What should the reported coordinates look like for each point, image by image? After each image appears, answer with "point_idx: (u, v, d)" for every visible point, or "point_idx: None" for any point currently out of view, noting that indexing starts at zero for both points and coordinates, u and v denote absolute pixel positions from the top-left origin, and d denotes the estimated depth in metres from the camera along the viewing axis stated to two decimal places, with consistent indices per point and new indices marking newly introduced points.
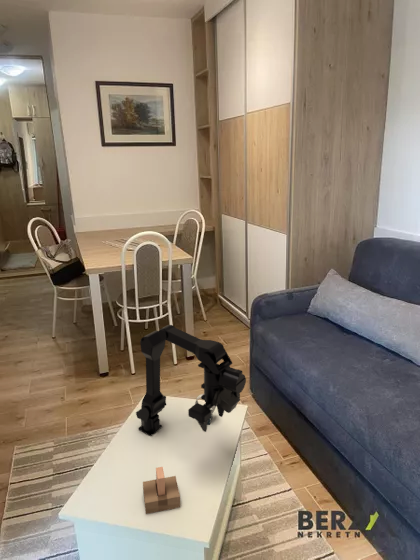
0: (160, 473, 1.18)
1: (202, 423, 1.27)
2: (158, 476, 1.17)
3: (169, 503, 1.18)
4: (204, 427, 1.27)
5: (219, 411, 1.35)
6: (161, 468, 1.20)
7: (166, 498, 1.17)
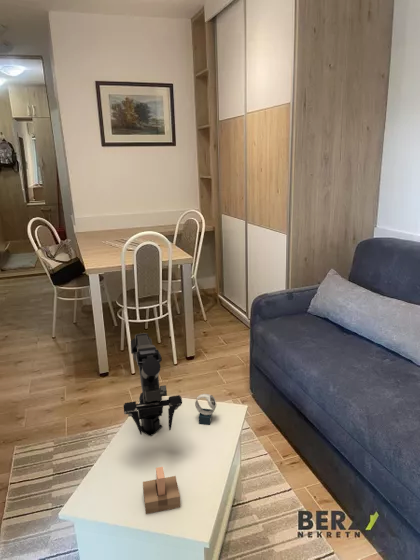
0: (160, 473, 1.18)
1: (136, 423, 1.30)
2: (158, 476, 1.17)
3: (169, 503, 1.18)
4: (137, 427, 1.29)
5: None
6: (161, 468, 1.20)
7: (166, 498, 1.17)
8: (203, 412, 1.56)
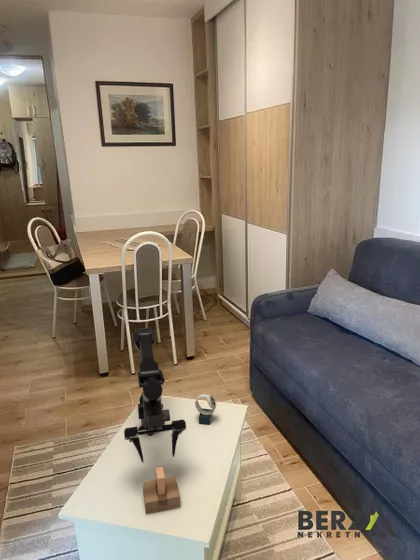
0: (160, 473, 1.18)
1: (137, 449, 1.22)
2: (158, 476, 1.17)
3: (169, 503, 1.18)
4: (139, 454, 1.21)
5: (172, 450, 1.24)
6: (161, 468, 1.20)
7: (166, 498, 1.17)
8: (203, 412, 1.56)
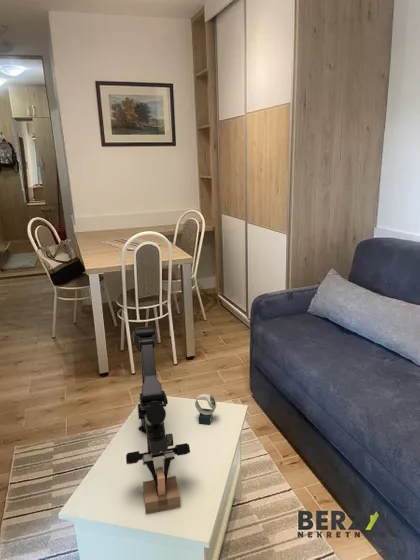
0: (160, 474, 1.18)
1: (151, 473, 1.19)
2: (158, 476, 1.17)
3: (169, 503, 1.18)
4: (153, 478, 1.18)
5: None
6: (161, 468, 1.20)
7: (166, 498, 1.17)
8: (203, 412, 1.56)
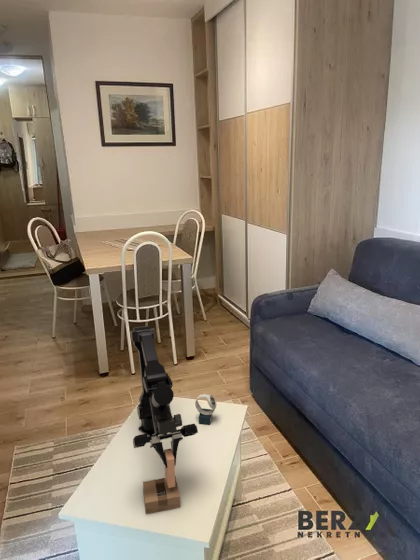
0: (169, 455, 1.17)
1: (160, 455, 1.18)
2: (167, 457, 1.16)
3: (169, 503, 1.18)
4: (162, 460, 1.17)
5: None
6: (169, 450, 1.19)
7: (166, 498, 1.17)
8: (203, 412, 1.56)
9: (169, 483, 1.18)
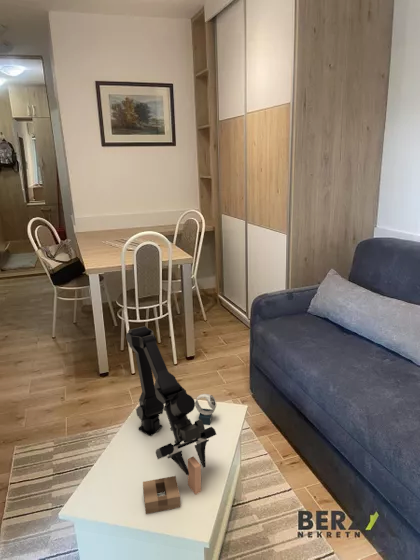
0: (195, 462, 1.22)
1: (180, 463, 1.21)
2: (194, 465, 1.21)
3: (169, 503, 1.18)
4: (183, 468, 1.21)
5: (201, 461, 1.25)
6: (193, 458, 1.24)
7: (166, 498, 1.17)
8: (203, 412, 1.56)
9: (196, 489, 1.23)
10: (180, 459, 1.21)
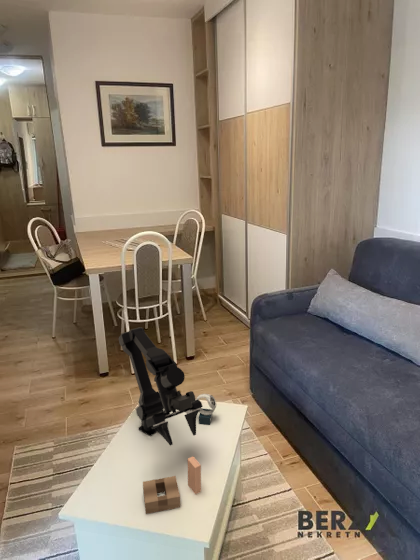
0: (195, 462, 1.22)
1: (164, 434, 1.24)
2: (194, 465, 1.21)
3: (169, 503, 1.18)
4: (167, 438, 1.24)
5: (191, 429, 1.31)
6: (193, 458, 1.24)
7: (166, 498, 1.17)
8: (203, 412, 1.56)
9: (196, 489, 1.23)
10: (165, 429, 1.24)
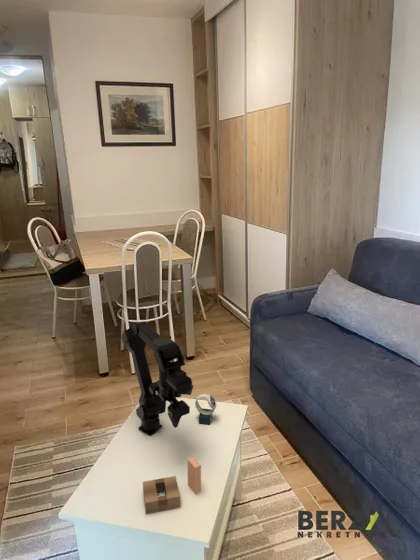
0: (195, 462, 1.22)
1: (177, 419, 1.31)
2: (194, 465, 1.21)
3: (169, 503, 1.18)
4: (178, 422, 1.32)
5: (162, 408, 1.40)
6: (193, 458, 1.24)
7: (166, 498, 1.17)
8: (203, 412, 1.56)
9: (196, 489, 1.23)
10: None
